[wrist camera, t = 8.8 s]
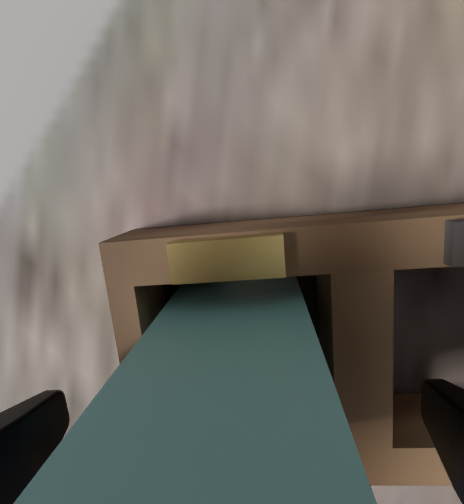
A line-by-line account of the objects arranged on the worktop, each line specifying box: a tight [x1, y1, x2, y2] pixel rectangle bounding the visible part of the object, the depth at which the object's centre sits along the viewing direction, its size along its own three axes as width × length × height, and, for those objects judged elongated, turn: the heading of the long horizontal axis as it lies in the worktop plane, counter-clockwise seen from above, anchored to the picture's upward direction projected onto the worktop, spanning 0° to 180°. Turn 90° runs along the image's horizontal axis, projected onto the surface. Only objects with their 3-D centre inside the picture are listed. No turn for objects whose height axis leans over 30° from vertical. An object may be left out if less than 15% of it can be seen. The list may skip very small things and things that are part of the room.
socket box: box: [99, 203, 464, 485], centre depth 10 cm, size 14×8×3 cm, turn 95°
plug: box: [13, 276, 377, 504], centre depth 8 cm, size 4×4×9 cm
